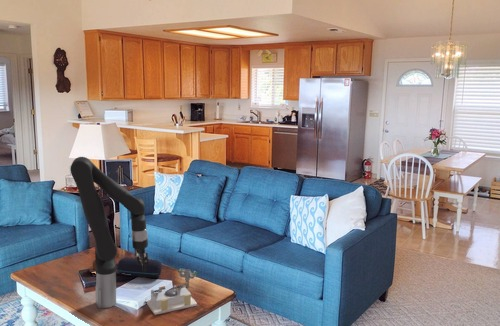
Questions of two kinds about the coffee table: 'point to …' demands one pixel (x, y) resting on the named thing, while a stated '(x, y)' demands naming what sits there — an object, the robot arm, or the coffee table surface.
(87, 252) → the coffee table surface
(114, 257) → the robot arm
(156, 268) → the portable speaker
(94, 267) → the cup and saucer
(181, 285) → the strap far
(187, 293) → the base
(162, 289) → the strap near
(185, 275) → the mechanical component
